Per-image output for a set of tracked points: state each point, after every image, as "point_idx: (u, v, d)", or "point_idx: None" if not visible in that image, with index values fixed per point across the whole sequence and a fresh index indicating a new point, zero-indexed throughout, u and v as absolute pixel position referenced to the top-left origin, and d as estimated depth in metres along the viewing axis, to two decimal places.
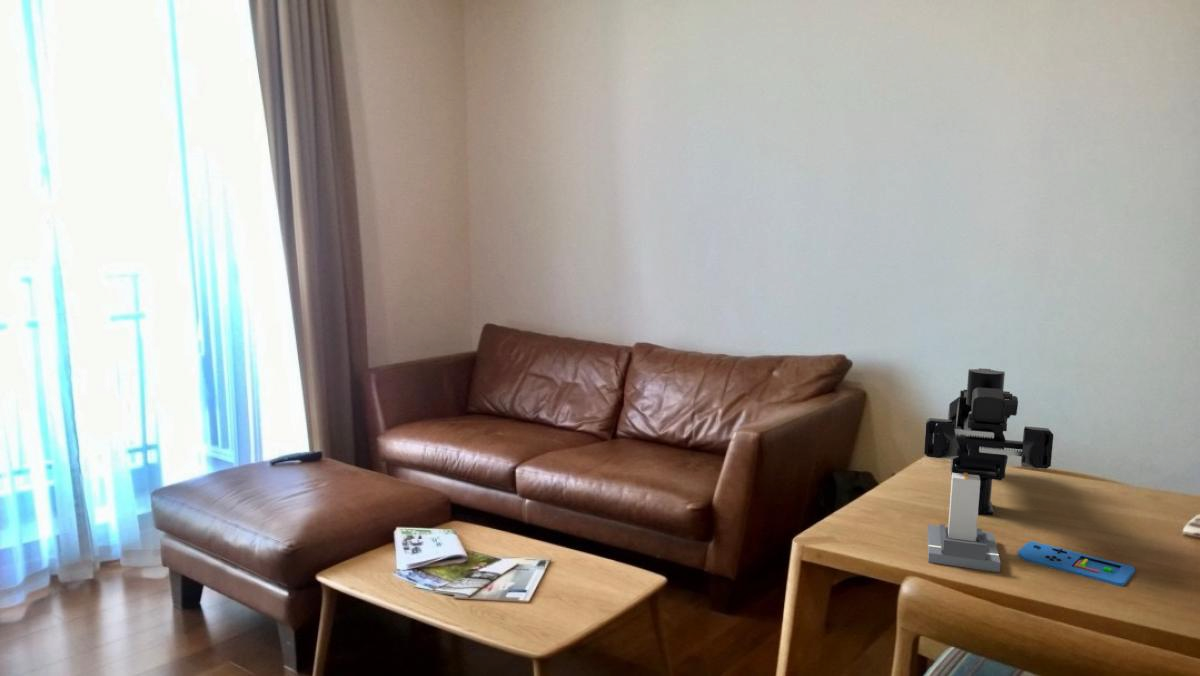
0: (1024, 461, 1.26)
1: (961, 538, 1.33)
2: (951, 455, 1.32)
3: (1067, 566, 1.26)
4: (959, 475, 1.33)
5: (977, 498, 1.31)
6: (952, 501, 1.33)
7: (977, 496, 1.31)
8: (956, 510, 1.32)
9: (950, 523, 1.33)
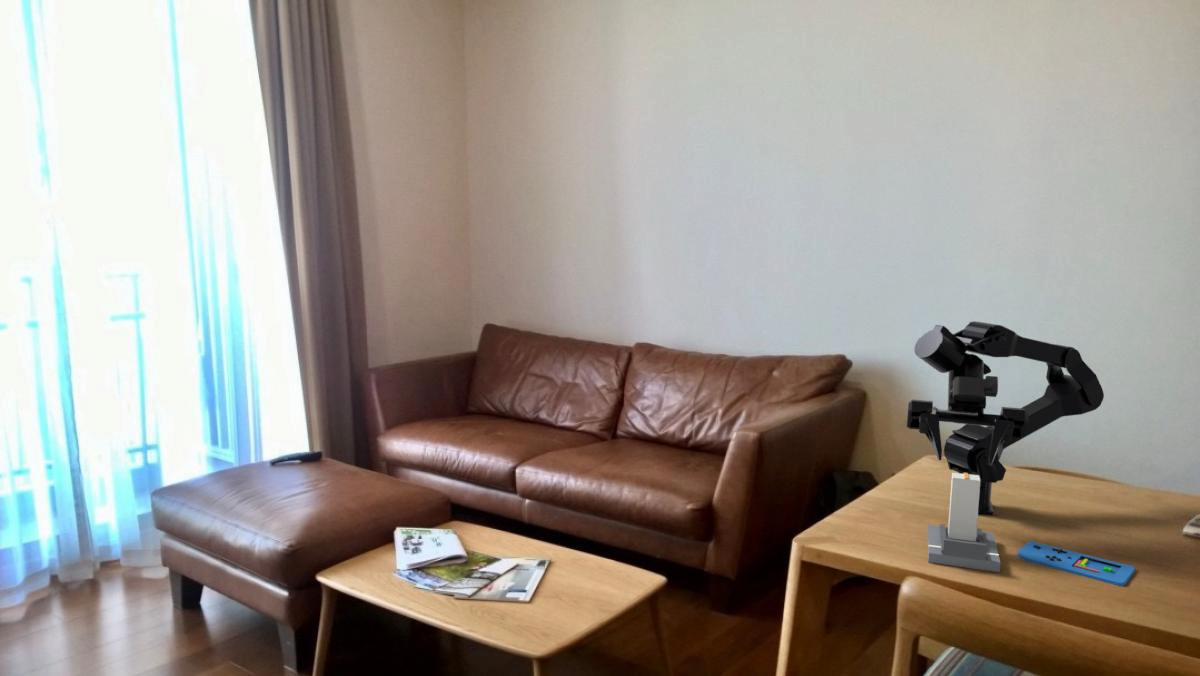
0: (990, 465, 1.37)
1: (961, 538, 1.33)
2: (934, 450, 1.42)
3: (1068, 566, 1.26)
4: (959, 475, 1.33)
5: (977, 498, 1.31)
6: (952, 501, 1.33)
7: (977, 496, 1.31)
8: (956, 510, 1.32)
9: (950, 523, 1.33)
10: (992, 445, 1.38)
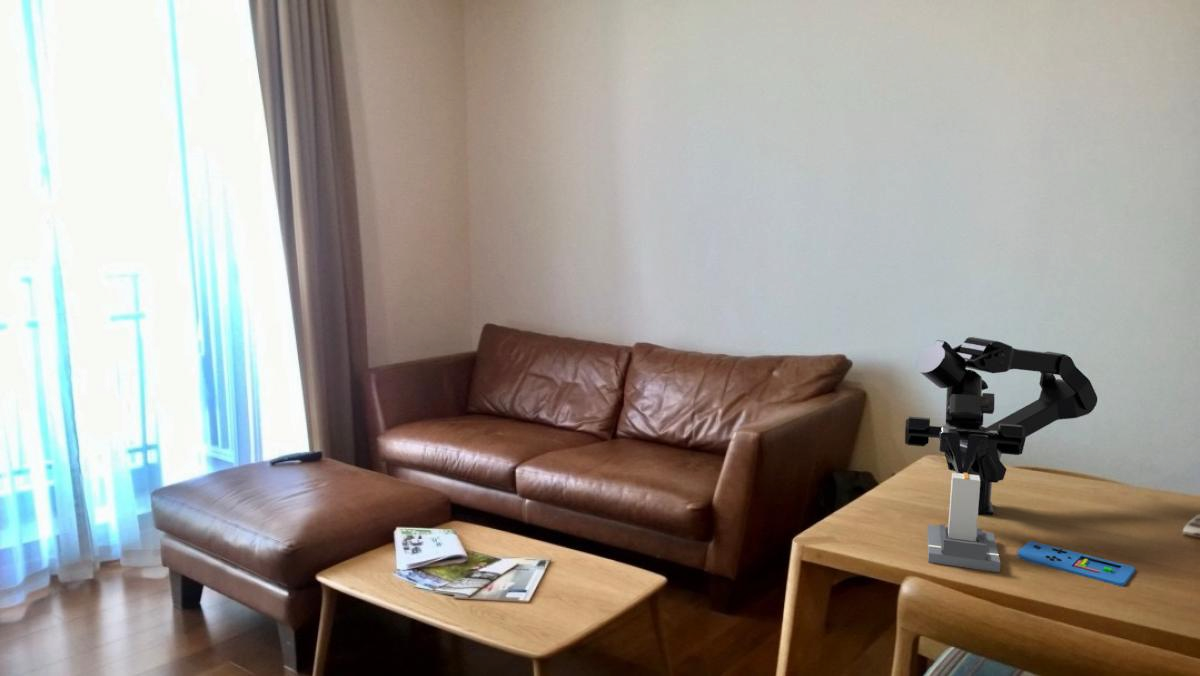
0: None
1: (961, 538, 1.33)
2: (955, 470, 1.41)
3: (1068, 566, 1.26)
4: (959, 475, 1.33)
5: (977, 498, 1.31)
6: (952, 501, 1.33)
7: (977, 496, 1.31)
8: (956, 510, 1.32)
9: (950, 523, 1.33)
10: (965, 460, 1.39)
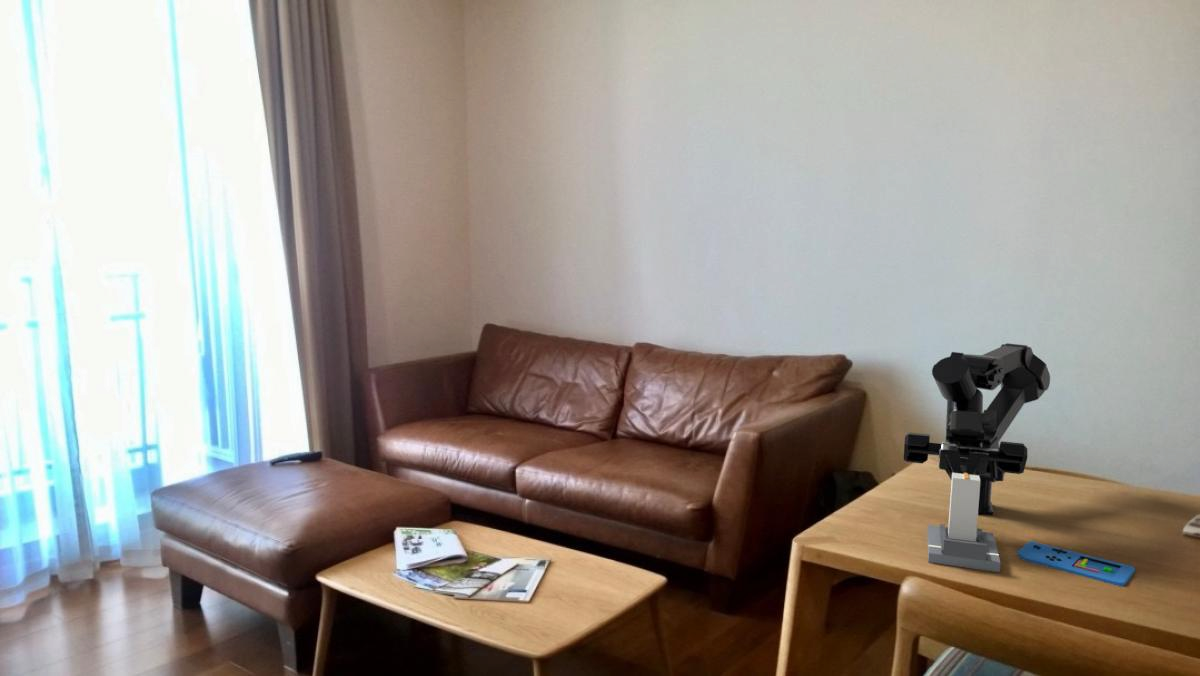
0: None
1: (961, 538, 1.33)
2: None
3: (1067, 566, 1.26)
4: (959, 475, 1.33)
5: (977, 498, 1.31)
6: (952, 501, 1.32)
7: (977, 496, 1.31)
8: (956, 510, 1.32)
9: (950, 523, 1.33)
10: None
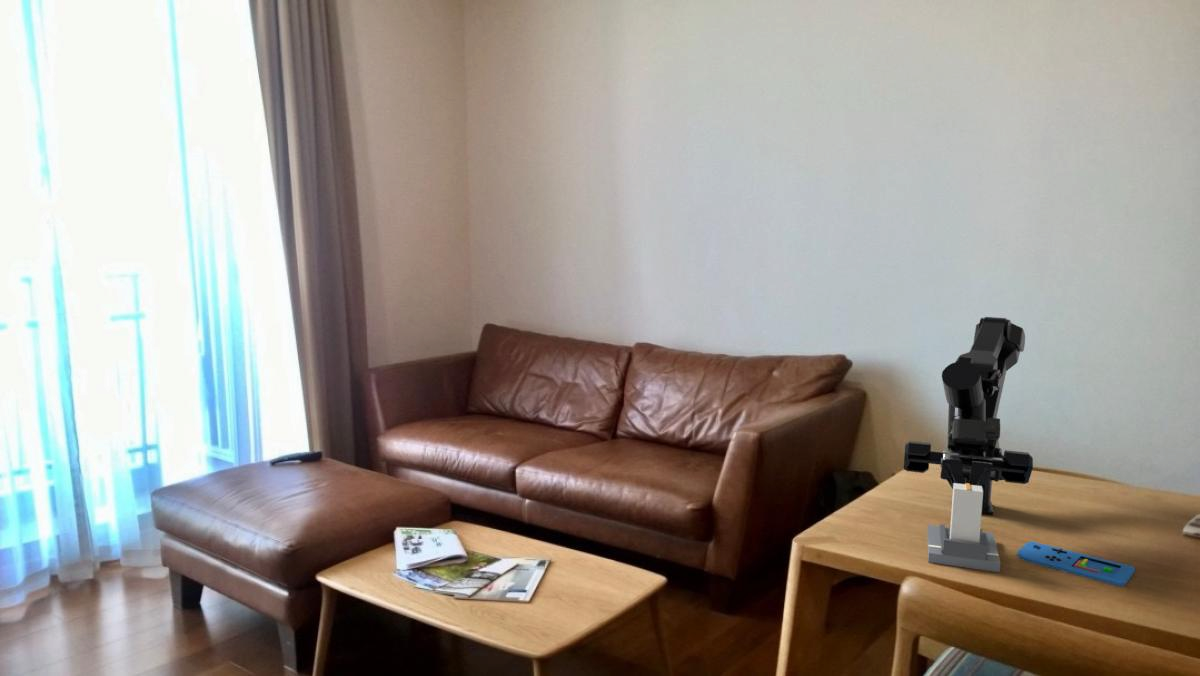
0: None
1: None
2: None
3: (1068, 566, 1.26)
4: (961, 486, 1.28)
5: (980, 510, 1.26)
6: (954, 513, 1.27)
7: (980, 508, 1.26)
8: (958, 523, 1.27)
9: (951, 536, 1.28)
10: None
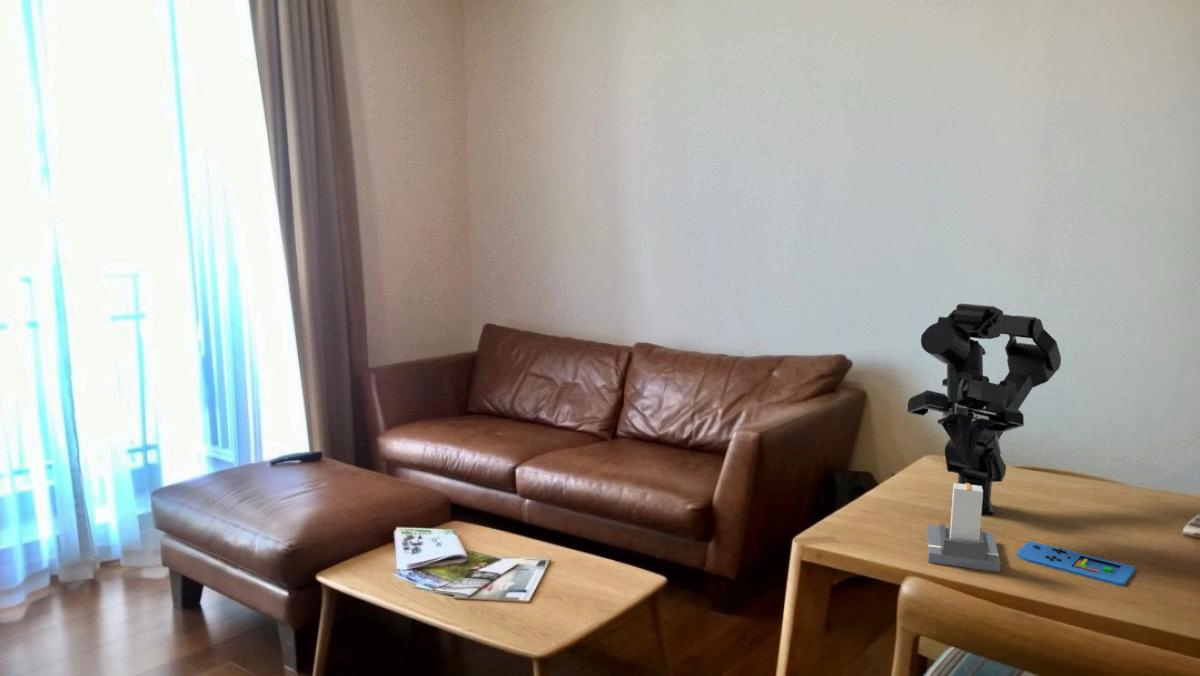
0: (966, 461, 1.39)
1: None
2: (956, 448, 1.40)
3: (1068, 566, 1.26)
4: (961, 485, 1.28)
5: (980, 510, 1.26)
6: (954, 513, 1.27)
7: (980, 508, 1.26)
8: (958, 522, 1.27)
9: (951, 536, 1.28)
10: (972, 442, 1.39)
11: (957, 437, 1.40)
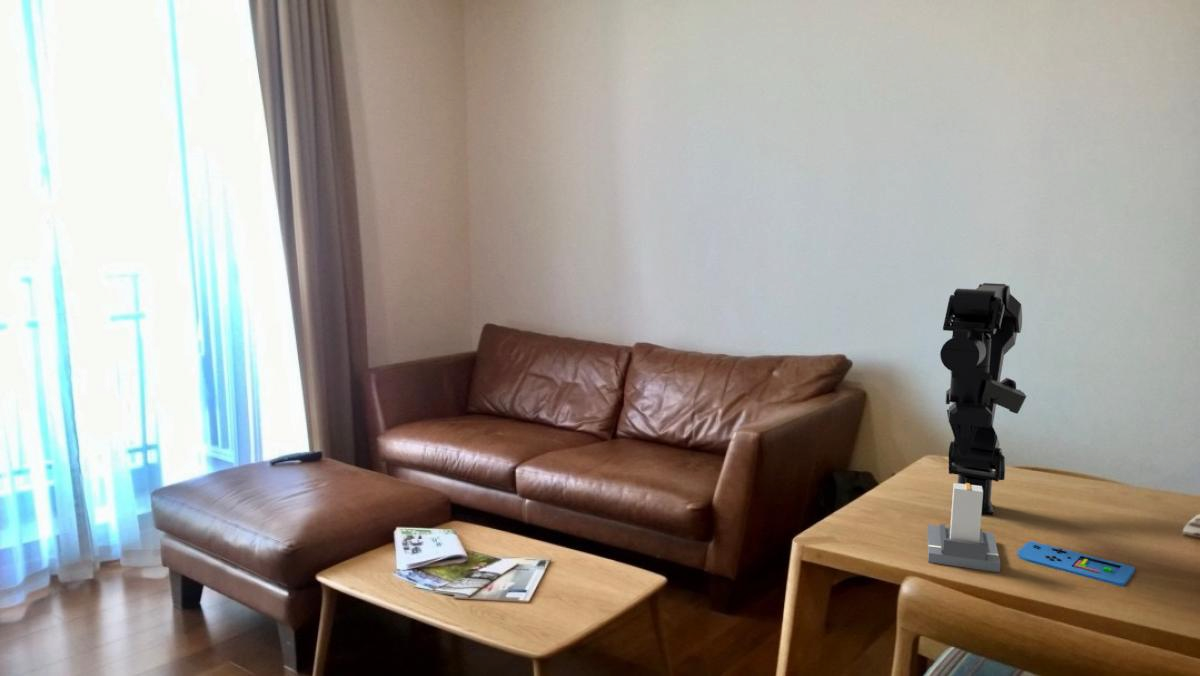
0: None
1: None
2: (957, 443, 1.40)
3: (1068, 566, 1.26)
4: (961, 485, 1.28)
5: (980, 510, 1.26)
6: (954, 513, 1.27)
7: (980, 508, 1.26)
8: (958, 522, 1.27)
9: (951, 536, 1.28)
10: None
11: (963, 435, 1.39)
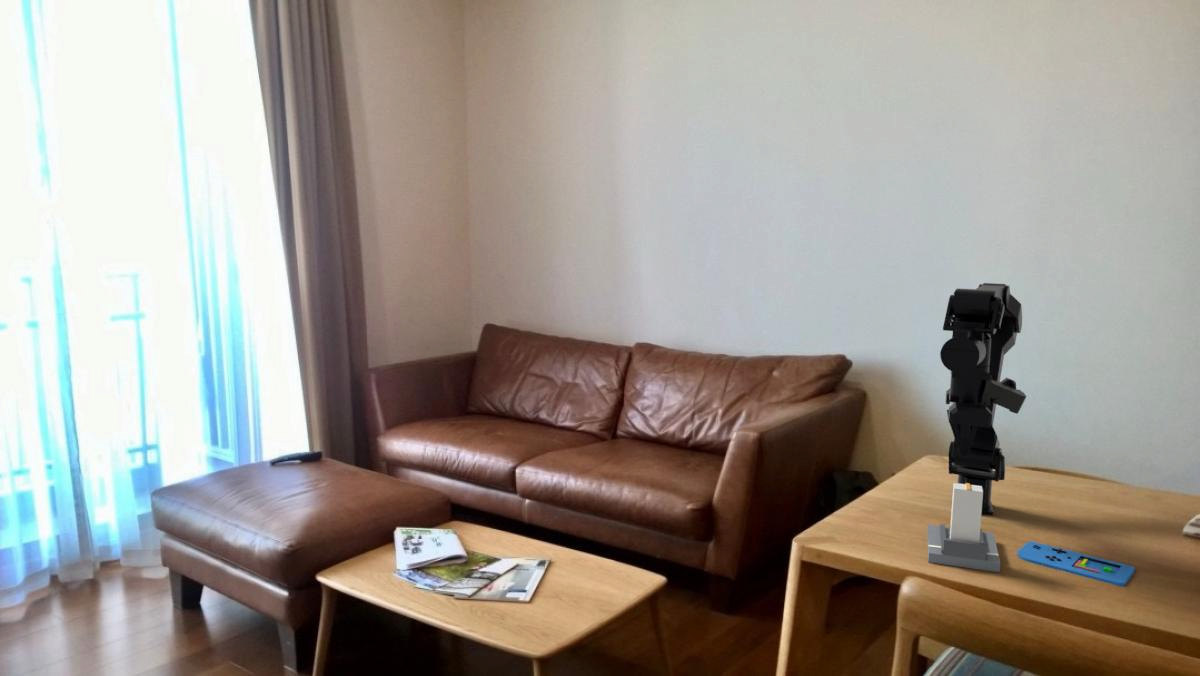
0: None
1: None
2: (958, 443, 1.40)
3: (1068, 566, 1.26)
4: (961, 485, 1.28)
5: (980, 510, 1.26)
6: (954, 513, 1.27)
7: (980, 508, 1.26)
8: (958, 522, 1.27)
9: (951, 536, 1.28)
10: None
11: (963, 435, 1.39)
